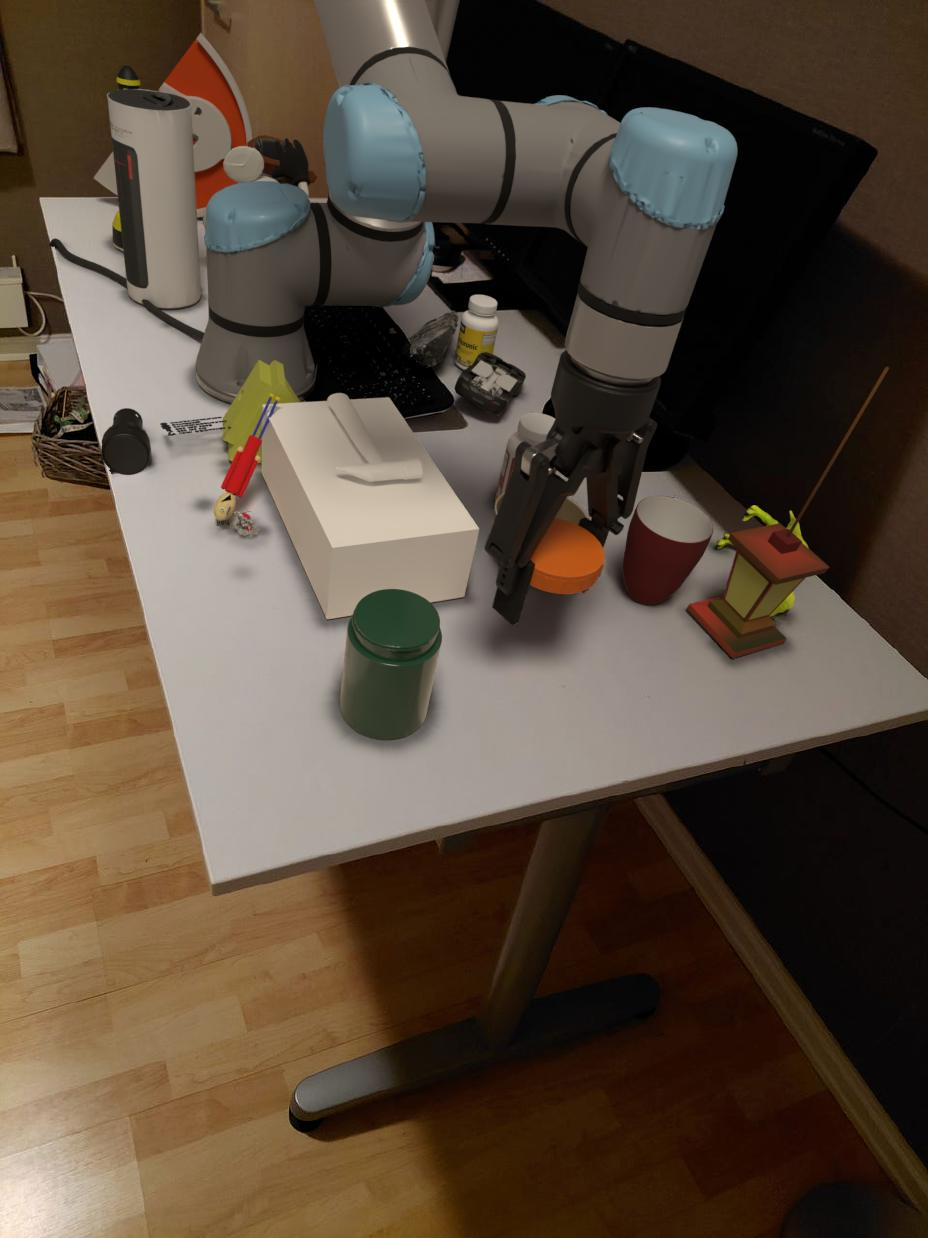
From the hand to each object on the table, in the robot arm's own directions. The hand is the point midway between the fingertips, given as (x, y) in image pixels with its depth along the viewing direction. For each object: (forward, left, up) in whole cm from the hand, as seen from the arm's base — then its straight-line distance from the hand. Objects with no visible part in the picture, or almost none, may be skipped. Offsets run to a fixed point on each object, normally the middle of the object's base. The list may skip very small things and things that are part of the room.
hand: (541, 598), depth 76 cm
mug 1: (-98, +32, -8) cm, 104 cm away
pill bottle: (-19, +17, -8) cm, 27 cm away
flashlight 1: (-103, +9, -8) cm, 104 cm away
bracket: (-43, -6, -1) cm, 44 cm away
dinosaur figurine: (-2, +37, -8) cm, 38 cm away
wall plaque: (-118, +16, -9) cm, 119 cm away
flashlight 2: (-51, -12, -7) cm, 53 cm away
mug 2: (0, +20, -8) cm, 22 cm away
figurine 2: (-29, -14, -8) cm, 33 cm away
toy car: (-40, +31, -4) cm, 51 cm away
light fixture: (+8, +23, -8) cm, 26 cm away
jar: (-2, -15, -8) cm, 17 cm away
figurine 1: (-39, -5, 0) cm, 39 cm away
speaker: (-85, +5, -8) cm, 85 cm away
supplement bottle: (-49, +35, -8) cm, 61 cm away
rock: (-57, +28, -2) cm, 63 cm away
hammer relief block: (-24, -3, -8) cm, 25 cm away
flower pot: (-10, +10, -8) cm, 16 cm away
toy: (-86, +44, +1) cm, 96 cm away
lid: (0, 0, +6) cm, 6 cm away
